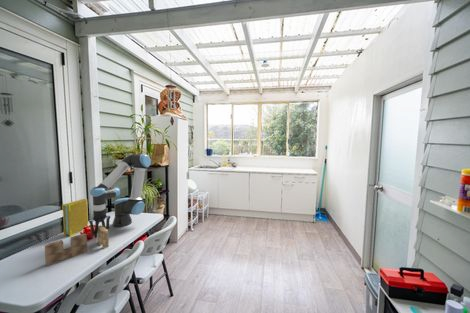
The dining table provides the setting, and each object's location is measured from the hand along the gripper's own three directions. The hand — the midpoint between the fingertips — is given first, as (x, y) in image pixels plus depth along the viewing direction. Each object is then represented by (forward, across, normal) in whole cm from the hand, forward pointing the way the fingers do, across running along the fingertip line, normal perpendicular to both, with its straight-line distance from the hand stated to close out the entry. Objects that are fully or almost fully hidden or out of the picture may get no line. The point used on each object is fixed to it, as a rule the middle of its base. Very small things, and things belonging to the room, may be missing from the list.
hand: (100, 240), depth 143 cm
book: (+2, +5, -36) cm, 36 cm away
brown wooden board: (+2, +20, +5) cm, 21 cm away
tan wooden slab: (+2, 0, +4) cm, 4 cm away
